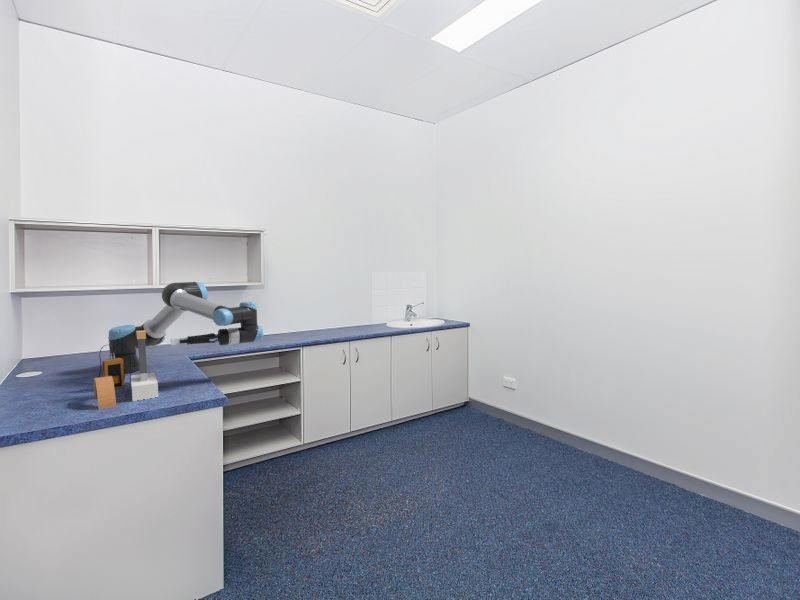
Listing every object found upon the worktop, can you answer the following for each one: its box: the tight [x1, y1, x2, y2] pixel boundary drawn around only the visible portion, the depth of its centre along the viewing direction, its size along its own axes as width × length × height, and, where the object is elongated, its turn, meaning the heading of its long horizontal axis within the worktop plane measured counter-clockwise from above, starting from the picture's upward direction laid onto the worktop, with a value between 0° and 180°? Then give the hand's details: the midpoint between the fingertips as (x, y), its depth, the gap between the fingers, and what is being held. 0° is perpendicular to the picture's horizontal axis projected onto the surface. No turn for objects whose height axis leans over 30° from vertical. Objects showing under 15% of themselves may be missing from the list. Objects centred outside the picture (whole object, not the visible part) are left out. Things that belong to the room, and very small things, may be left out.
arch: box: [93, 376, 117, 410], centre depth 171 cm, size 6×20×10 cm, turn 38°
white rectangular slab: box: [130, 372, 159, 402], centre depth 182 cm, size 22×9×9 cm, turn 33°
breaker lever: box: [136, 330, 148, 374], centre depth 182 cm, size 5×3×20 cm
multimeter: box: [98, 343, 132, 389], centre depth 192 cm, size 15×10×20 cm
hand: (170, 342), depth 187 cm, fingers closed
